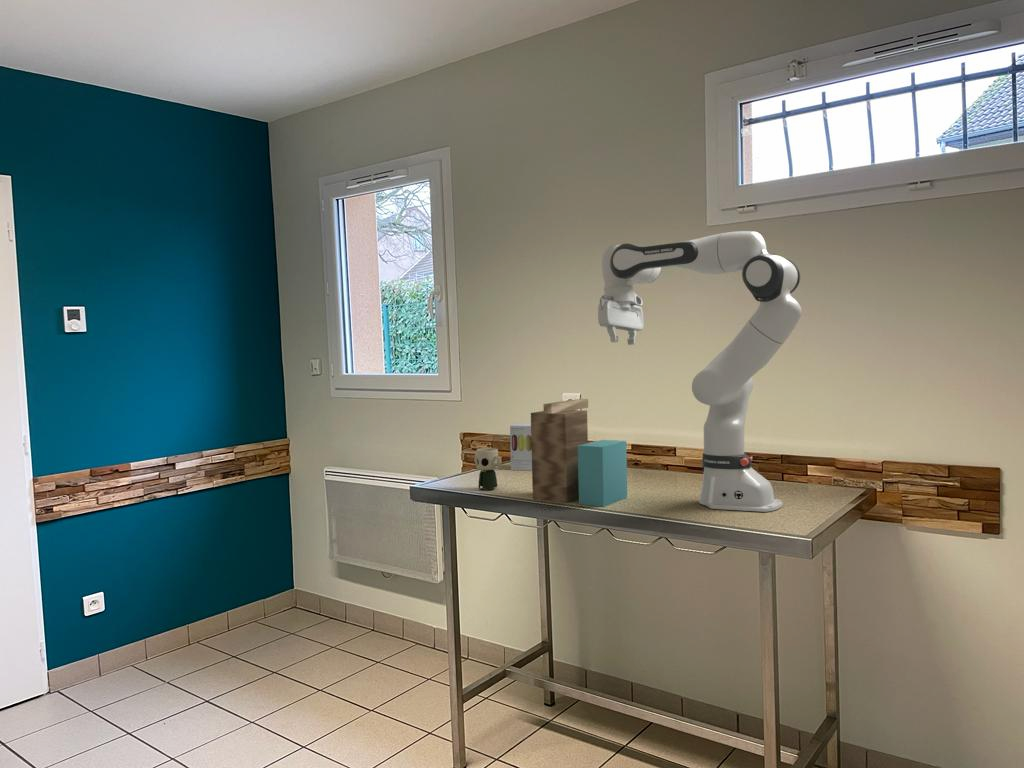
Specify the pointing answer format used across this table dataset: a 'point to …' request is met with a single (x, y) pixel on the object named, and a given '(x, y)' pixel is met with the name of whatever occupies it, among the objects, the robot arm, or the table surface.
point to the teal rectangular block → (602, 472)
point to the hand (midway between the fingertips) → (623, 343)
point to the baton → (565, 406)
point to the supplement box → (520, 446)
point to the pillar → (557, 454)
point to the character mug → (487, 467)
